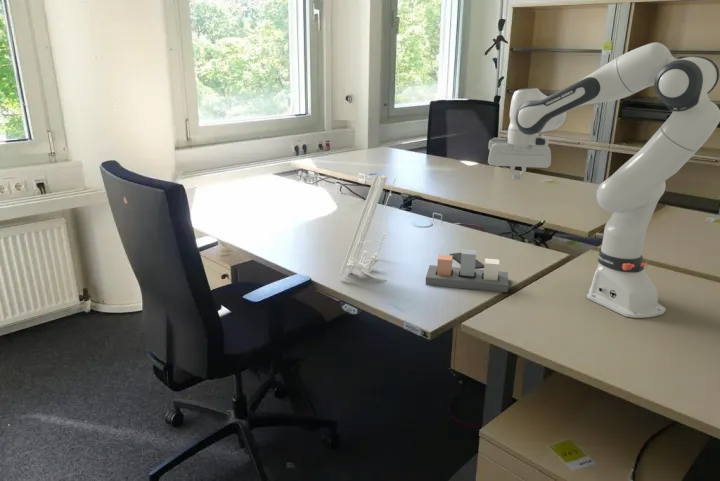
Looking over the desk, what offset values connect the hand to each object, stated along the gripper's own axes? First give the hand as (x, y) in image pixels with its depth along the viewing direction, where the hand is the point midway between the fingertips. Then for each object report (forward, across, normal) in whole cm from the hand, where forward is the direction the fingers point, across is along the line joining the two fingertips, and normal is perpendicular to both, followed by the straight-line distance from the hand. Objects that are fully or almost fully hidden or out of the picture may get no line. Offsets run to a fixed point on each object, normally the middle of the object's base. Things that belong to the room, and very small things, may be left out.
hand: (517, 179), depth 180 cm
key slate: (+28, -14, -19) cm, 37 cm away
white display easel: (+31, -45, -18) cm, 58 cm away
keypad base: (+31, -14, -19) cm, 39 cm away
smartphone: (+32, -15, 0) cm, 35 cm away
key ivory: (+31, -6, -19) cm, 37 cm away
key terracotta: (+31, -21, -19) cm, 42 cm away
